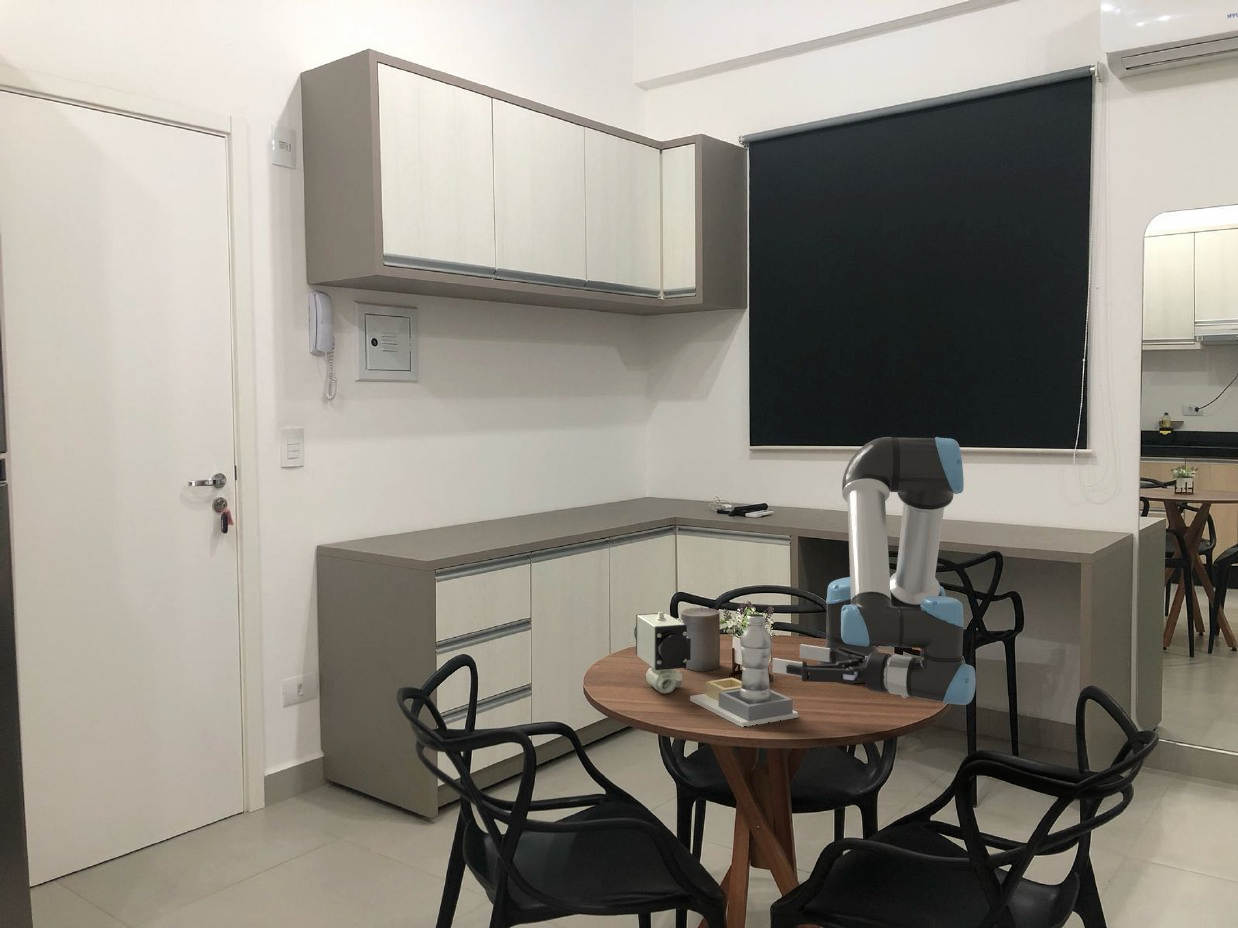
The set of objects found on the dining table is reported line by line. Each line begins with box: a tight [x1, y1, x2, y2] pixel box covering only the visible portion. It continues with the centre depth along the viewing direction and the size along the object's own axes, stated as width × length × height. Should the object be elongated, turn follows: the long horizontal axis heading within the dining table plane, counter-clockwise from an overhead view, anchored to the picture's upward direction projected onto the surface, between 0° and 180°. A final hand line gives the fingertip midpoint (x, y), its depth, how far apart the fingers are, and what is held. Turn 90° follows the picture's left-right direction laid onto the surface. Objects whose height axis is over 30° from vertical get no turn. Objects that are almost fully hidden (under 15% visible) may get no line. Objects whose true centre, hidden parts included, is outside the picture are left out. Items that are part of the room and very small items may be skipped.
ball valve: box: [633, 611, 691, 695], centre depth 223 cm, size 18×8×18 cm, turn 18°
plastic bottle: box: [739, 613, 773, 705], centre depth 205 cm, size 6×7×20 cm
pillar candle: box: [680, 607, 721, 672], centre depth 243 cm, size 10×10×15 cm
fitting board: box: [689, 677, 799, 728], centre depth 210 cm, size 14×20×4 cm
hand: (786, 657), depth 201 cm, fingers open, 13 cm apart
